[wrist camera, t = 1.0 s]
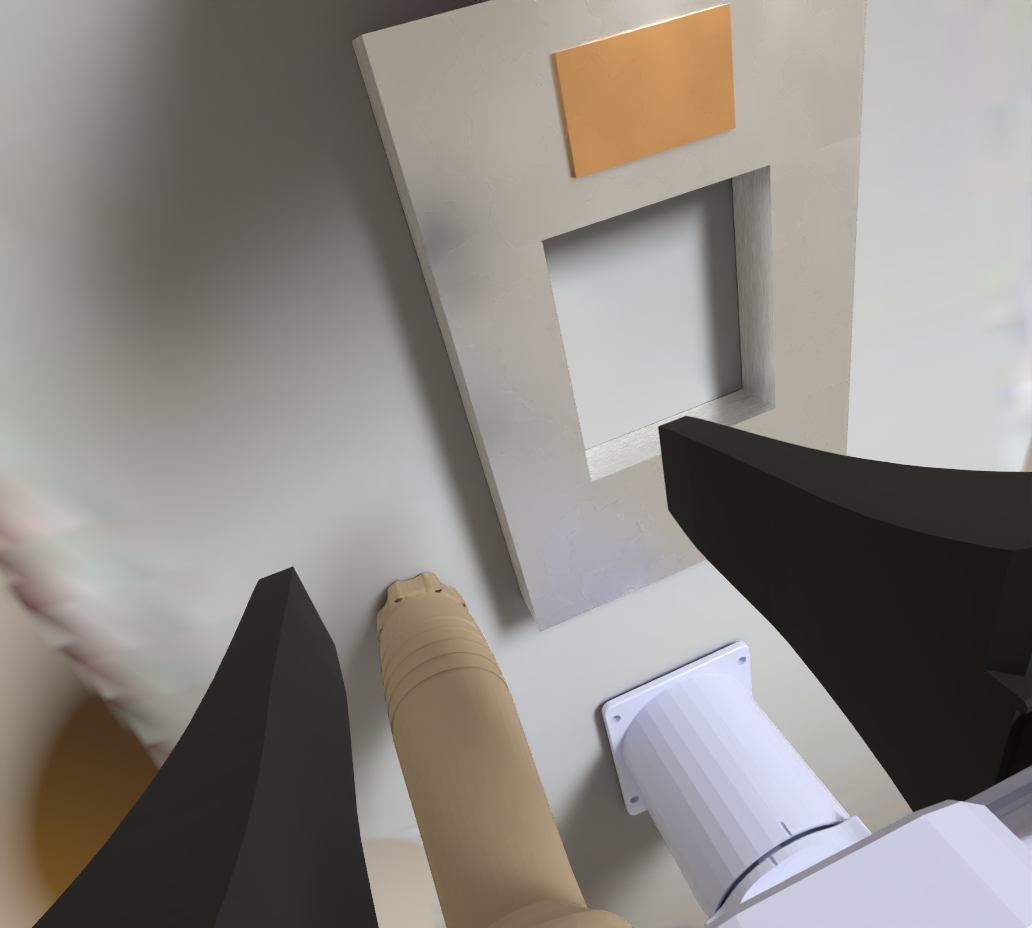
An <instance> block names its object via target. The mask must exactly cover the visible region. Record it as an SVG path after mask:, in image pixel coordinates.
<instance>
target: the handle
mask: <svg viewBox="0 0 1032 928" xmlns="http://www.w3.org/2000/svg"><path fill="white" fill-rule="evenodd" d="M387 592H388V598H387V601H386V604H385V606H384V607H383V608H382V609H381V610H380V611H379V612H378V614H377V634H378V640H379V642H380V659H381V671H382V679H383V685H384V693H385V700H386V706H387V711H388V716H389V721H390V726H391V731H392V735H393V741H394V745H395V748H396V752H397V755H398V759H399V762H400V766H401V769H402V772H403V776H404V779H405V783H406V786H407V790H408V793H409V797H410V800H411V803H412V807H413V810H414V814H415V817H416V821H417V824H418V828H419V831H420V834H421V838H422V841H423V845H424V849H425V852H426V856H427V859H428V863H429V866H430V870H431V874H432V877H433V881H434V884H435V888H436V891H437V895H438V899H439V902H440V906H441V909H442V913H443V916H444V920H445V924H446V927H447V928H633V927H632V926H631V925H630V924H629V923H628V922H627V921H626V920H625V919H623V918H622V917H620V916H618V915H616V914H613V913H611V912H608V911H605V910H600V909H593V908H588V907H587V905H586V903H585V900H584V898H583V896H582V893H581V891H580V888H579V886H578V884H577V881H576V879H575V876H574V874H573V872H572V869H571V866H570V863H569V860H568V857H567V855H566V852H565V849H564V846H563V843H562V840H561V838H560V835H559V832H558V829H557V826H556V823H555V821H554V818H553V815H552V812H551V809H550V806H549V804H548V801H547V798H546V795H545V792H544V789H543V787H542V784H541V781H540V778H539V775H538V772H537V769H536V766H535V763H534V760H533V757H532V754H531V752H530V749H529V746H528V743H527V740H526V737H525V734H524V731H523V728H522V725H521V722H520V719H519V716H518V714H517V711H516V708H515V705H514V702H513V699H512V696H511V693H510V692H509V689H508V686H507V684H506V682H505V680H504V678H503V676H502V673H501V671H500V668H499V666H498V664H497V662H496V660H495V658H494V656H493V654H492V652H491V650H490V648H489V646H488V644H487V642H486V640H485V638H484V637H483V634H482V633H481V631H480V629H479V628H478V626H477V624H476V623H475V621H474V619H473V618H472V616H471V615H470V614H469V612H468V608H467V606H466V604H465V602H464V600H463V599H462V597H461V596H460V594H459V593H458V592H457V590H456V589H455V588H452V587H447V586H445V585H443V584H442V583H441V582H440V581H439V580H438V578H437V576H436V575H435V574H434V573H421V574H420V575H419V576H417V577H415V578H412V579H409V580H405V581H399V580H398V581H396V582H395V583H393V584H392V585H391V586H390V587H389V588H388V590H387Z"/></svg>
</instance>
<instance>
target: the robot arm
mask: <svg viewBox="0 0 1032 928" xmlns="http://www.w3.org/2000/svg"><path fill="white" fill-rule="evenodd" d="M658 431H659V439H660V447H661V456H662V464H663V472H664V481H665V489H666V497H667V505H668V511H669V512H670V513H671V515H672V516H673V518H674V519H675V520H676V522H677V523H678V525H679V526H680V527H681V529H682V530H683V531H684V533H685V534H686V535H687V537H688V538H689V539H690V541H691V542H692V543H693V544H694V546H695V547H696V548H697V549H698V550H699V551H700V552H701V553H702V554H703V556H704V557H705V558H706V559H707V560H708V561H709V562H710V563H711V564H712V565H713V566H714V567H715V568H716V569H717V570H718V571H719V572H720V573H721V574H722V575H723V576H724V577H725V578H726V579H727V580H728V581H729V582H730V583H731V584H732V585H733V586H734V587H735V588H736V589H737V590H738V591H739V592H740V593H741V594H742V595H743V596H744V597H745V598H746V599H747V600H748V601H749V602H750V603H751V604H752V605H753V606H754V607H755V608H756V609H757V610H758V611H759V612H760V613H761V614H762V615H763V616H764V617H765V618H766V619H767V620H768V621H769V622H770V623H771V624H772V625H773V626H774V627H775V628H776V630H777V631H778V632H779V633H780V634H781V635H782V636H783V637H784V638H785V639H786V640H787V642H788V643H789V644H790V645H791V647H792V648H793V649H794V650H795V652H796V653H797V654H798V655H799V657H800V658H801V659H802V660H803V661H804V663H805V664H806V665H807V666H808V668H809V669H810V670H811V671H812V673H813V674H814V675H815V676H816V678H817V679H818V680H819V681H820V683H821V684H822V685H823V687H824V688H825V689H826V691H827V692H828V693H829V695H830V696H831V697H832V699H833V700H834V701H835V702H836V704H837V705H838V706H839V708H840V709H841V710H842V712H843V713H844V714H845V716H846V717H847V718H848V720H849V721H850V722H851V723H852V725H853V726H854V728H855V729H856V730H857V732H858V733H859V735H860V736H861V737H862V739H863V740H864V742H865V743H866V744H867V746H868V747H869V749H870V750H871V751H872V753H873V754H874V756H875V757H876V758H877V760H878V761H879V762H880V764H881V765H882V767H883V768H884V769H885V771H886V772H887V774H888V775H889V776H890V778H891V779H892V781H893V782H894V784H895V785H896V787H897V788H898V790H899V791H900V793H901V794H902V796H903V797H904V799H905V800H906V802H907V803H908V805H909V806H910V808H911V809H912V811H913V813H911V814H909V815H908V816H906V817H904V818H902V819H900V820H898V821H896V822H894V823H892V824H890V825H889V826H887V827H885V828H883V829H881V830H879V831H877V832H875V833H873V834H872V833H871V832H870V831H869V830H868V828H867V827H866V826H865V825H864V824H863V822H862V821H861V820H860V819H859V818H858V817H857V816H856V815H853V816H852V817H850V816H849V815H848V813H847V812H846V811H845V810H844V808H843V807H842V806H841V805H840V804H839V802H838V801H837V800H836V799H835V798H834V796H833V795H832V794H831V793H830V791H829V790H828V789H827V788H826V787H825V785H824V784H823V783H822V782H821V781H820V779H819V778H818V777H817V776H816V775H815V773H814V772H813V771H812V770H811V768H810V767H809V766H808V765H807V764H806V762H805V761H804V760H803V759H802V758H801V756H800V755H799V754H798V753H797V751H796V750H795V749H794V748H793V747H792V745H791V744H790V743H789V742H788V741H787V739H786V738H785V737H784V736H783V735H782V733H781V732H780V731H779V730H778V728H777V727H776V726H775V725H774V724H773V722H772V721H771V720H770V719H769V718H768V716H767V715H766V714H765V713H764V712H763V710H762V709H761V708H760V707H759V705H758V704H757V703H756V702H755V701H754V699H753V698H752V686H751V669H750V652H749V647H748V646H747V645H746V644H745V643H744V642H736V643H734V644H732V645H730V646H727V647H725V648H723V649H721V650H719V651H716V652H714V653H712V654H710V655H708V656H706V657H703V658H701V659H699V660H697V661H695V662H693V663H690V664H688V665H686V666H684V667H682V668H680V669H677V670H675V671H673V672H671V673H669V674H666V675H664V676H662V677H660V678H658V679H656V680H653V681H651V682H649V683H647V684H645V685H643V686H640V687H638V688H636V689H634V690H632V691H629V692H627V693H625V694H623V695H621V696H619V697H616V698H614V699H612V700H610V701H608V702H607V703H605V704H604V706H603V708H602V715H603V719H604V723H605V727H606V731H607V735H608V739H609V743H610V747H611V751H612V755H613V759H614V762H615V766H616V770H617V774H618V778H619V782H620V786H621V790H622V794H623V798H624V802H625V806H626V809H627V811H628V813H629V814H630V815H637V814H640V813H642V812H644V811H646V810H648V812H649V814H650V815H651V817H652V819H653V821H654V823H655V825H656V826H657V828H658V830H659V832H660V834H661V836H662V837H663V839H664V841H665V843H666V845H667V846H668V848H669V850H670V852H671V854H672V856H673V857H674V859H675V861H676V863H677V865H678V867H679V868H680V870H681V872H682V874H683V876H684V878H685V879H686V881H687V883H688V885H689V887H690V888H691V890H692V892H693V894H694V896H695V898H696V899H697V901H698V903H699V905H700V906H701V908H702V909H703V911H704V912H705V914H706V915H707V916H708V917H709V919H708V920H707V921H706V922H705V927H703V928H1032V472H996V471H972V470H957V469H944V468H931V467H921V466H911V465H902V464H895V463H889V462H882V461H875V460H868V459H861V458H856V457H850V456H845V455H840V454H835V453H831V452H826V451H821V450H817V449H812V448H808V447H804V446H800V445H795V444H791V443H787V442H784V441H780V440H776V439H772V438H769V437H765V436H761V435H758V434H754V433H750V432H747V431H743V430H740V429H736V428H733V427H729V426H726V425H722V424H718V423H715V422H711V421H707V420H703V419H699V418H695V417H690V416H684V417H681V418H679V419H676V420H673V421H671V422H668V423H666V424H663V425H660V426H658ZM32 928H379V927H378V922H377V917H376V913H375V908H374V903H373V898H372V894H371V889H370V883H369V879H368V874H367V868H366V863H365V858H364V853H363V848H362V843H361V837H360V830H359V823H358V815H357V806H356V795H355V783H354V772H353V761H352V749H351V738H350V727H349V717H348V706H347V697H346V691H345V687H344V682H343V677H342V673H341V669H340V664H339V660H338V656H337V652H336V647H335V645H334V643H333V641H332V639H331V637H330V635H329V633H328V631H327V629H326V628H325V626H324V624H323V622H322V620H321V618H320V616H319V614H318V613H317V611H316V609H315V607H314V605H313V603H312V601H311V599H310V597H309V596H308V594H307V592H306V590H305V588H304V586H303V584H302V582H301V580H300V579H299V577H298V575H297V573H296V571H295V569H294V567H290V568H288V569H285V570H283V571H280V572H277V573H275V574H272V575H270V576H267V577H264V578H262V579H259V581H258V583H257V585H256V587H255V589H254V591H253V593H252V595H251V598H250V600H249V602H248V605H247V607H246V609H245V611H244V614H243V616H242V618H241V621H240V623H239V625H238V628H237V630H236V632H235V634H234V637H233V639H232V641H231V643H230V645H229V647H228V649H227V652H226V654H225V656H224V658H223V660H222V662H221V664H220V666H219V668H218V671H217V673H216V675H215V677H214V679H213V681H212V683H211V685H210V686H209V688H208V690H207V692H206V694H205V696H204V698H203V699H202V701H201V703H200V705H199V707H198V709H197V711H196V712H195V714H194V716H193V718H192V720H191V722H190V723H189V725H188V727H187V728H186V730H185V732H184V733H183V735H182V737H181V738H180V740H179V741H178V743H177V745H176V746H175V748H174V749H173V751H172V752H171V754H170V755H169V757H168V758H167V760H166V761H165V763H164V764H163V766H162V767H161V769H160V770H159V772H158V774H157V775H156V776H155V778H154V779H153V781H152V782H151V784H150V785H149V786H148V788H147V789H146V790H145V792H144V793H143V794H142V796H141V797H140V798H139V800H138V801H137V802H136V804H135V805H134V806H133V808H132V809H131V810H130V812H129V813H128V814H127V816H126V817H125V818H124V819H123V821H122V822H121V824H120V825H119V826H118V827H117V829H116V830H115V831H114V833H113V834H112V835H111V837H110V838H109V839H108V841H107V842H106V843H105V844H104V846H103V847H102V848H101V849H100V851H99V852H98V853H97V854H96V855H95V857H94V858H93V859H92V860H91V861H90V862H89V864H88V865H87V866H86V867H85V868H84V870H83V871H82V872H81V873H80V874H79V876H78V877H77V878H76V879H75V880H74V881H73V882H72V884H71V885H70V886H69V887H68V888H67V889H66V890H65V892H64V893H63V894H62V895H61V896H60V897H59V898H58V899H57V901H56V902H55V903H54V904H53V905H52V906H51V907H50V909H49V910H48V911H47V912H46V913H45V914H44V915H43V916H42V917H41V918H40V919H39V921H38V922H37V923H36V924H35V925H34V926H33V927H32Z"/></svg>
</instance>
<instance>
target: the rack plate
mask: <svg viewBox="0 0 1032 928" xmlns="http://www.w3.org/2000/svg"><path fill="white" fill-rule="evenodd" d="M866 6H867V0H490V1H486V2H483V3H479V4H475V5H471V6H468V7H464V8H460V9H456V10H452V11H449V12H445V13H441V14H437V15H434V16H430V17H426V18H422V19H419V20H415V21H411V22H407V23H404V24H400V25H396V26H392V27H388V28H385V29H381V30H377V31H373V32H370V33H366V34H362V35H360V36H359V37H357V38H355V39H354V40H352V44H353V47H354V51H355V54H356V57H357V60H358V64H359V67H360V70H361V73H362V77H363V80H364V83H365V86H366V90H367V93H368V96H369V99H370V103H371V106H372V109H373V112H374V116H375V119H376V122H377V125H378V129H379V132H380V135H381V138H382V142H383V145H384V148H385V151H386V155H387V158H388V161H389V164H390V168H391V171H392V174H393V177H394V181H395V184H396V187H397V190H398V194H399V197H400V200H401V203H402V207H403V210H404V213H405V216H406V220H407V223H408V226H409V229H410V233H411V236H412V239H413V242H414V246H415V249H416V252H417V255H418V259H419V262H420V265H421V268H422V272H423V275H424V278H425V281H426V285H427V288H428V291H429V294H430V298H431V301H432V304H433V307H434V311H435V314H436V317H437V320H438V324H439V327H440V330H441V333H442V337H443V340H444V343H445V346H446V350H447V353H448V356H449V359H450V363H451V366H452V369H453V372H454V376H455V379H456V382H457V385H458V389H459V392H460V395H461V398H462V402H463V405H464V408H465V411H466V415H467V418H468V421H469V424H470V428H471V431H472V434H473V437H474V441H475V444H476V447H477V450H478V454H479V457H480V460H481V463H482V467H483V470H484V473H485V476H486V480H487V483H488V486H489V490H490V493H491V496H492V499H493V503H494V506H495V509H496V512H497V516H498V519H499V522H500V525H501V529H502V532H503V535H504V538H505V542H506V545H507V548H508V551H509V555H510V558H511V561H512V564H513V568H514V571H515V574H516V577H517V581H518V584H519V587H520V590H521V594H522V597H523V600H524V602H525V603H526V605H527V607H528V609H529V611H530V613H531V615H532V617H533V619H534V620H535V622H536V624H537V626H538V628H539V630H540V631H542V630H544V629H547V628H549V627H551V626H554V625H556V624H558V623H560V622H563V621H565V620H567V619H570V618H572V617H574V616H577V615H579V614H581V613H584V612H586V611H588V610H590V609H593V608H595V607H597V606H600V605H602V604H604V603H607V602H609V601H611V600H614V599H616V598H618V597H620V596H623V595H625V594H627V593H630V592H632V591H634V590H637V589H639V588H641V587H644V586H646V585H648V584H650V583H653V582H655V581H657V580H660V579H662V578H664V577H667V576H669V575H671V574H674V573H676V572H678V571H680V570H683V569H685V568H687V567H690V566H692V565H694V564H697V563H699V562H701V561H703V560H706V558H705V557H704V556H703V554H702V553H701V552H700V551H699V550H698V549H697V548H696V547H695V546H694V544H693V543H692V542H691V541H690V539H689V538H688V537H687V535H686V534H685V533H684V531H683V530H682V529H681V527H680V526H679V525H678V523H677V522H676V520H675V519H674V518H673V516H672V515H671V513H670V512H669V511H668V505H667V497H666V489H665V481H664V472H663V464H662V456H661V447H660V439H659V431H658V426H660V425H663V424H666V423H668V422H671V421H673V420H676V419H679V418H681V417H684V416H690V417H695V418H699V419H703V420H707V421H711V422H715V423H718V424H722V425H726V426H729V427H733V428H736V429H740V430H743V431H747V432H750V433H754V434H758V435H761V436H765V437H769V438H772V439H776V440H780V441H784V442H787V443H791V444H795V445H800V446H804V447H808V448H812V449H817V450H821V451H826V452H831V453H835V454H840V455H845V456H846V453H847V431H848V408H849V386H850V364H851V341H852V319H853V297H854V274H855V252H856V229H857V207H858V185H859V162H860V140H861V118H862V95H863V73H864V51H865V28H866ZM729 178H732V187H733V207H734V226H735V246H736V265H737V285H738V304H739V324H740V343H741V363H742V382H743V389H741V390H738V391H736V392H733V393H731V394H728V395H726V396H723V397H720V398H718V399H715V400H713V401H710V402H708V403H705V404H703V405H700V406H697V407H695V408H692V409H690V410H687V411H685V412H682V413H679V414H677V415H674V416H672V417H669V418H667V419H664V420H662V421H659V422H656V423H654V424H651V425H649V426H646V427H644V428H641V429H639V430H636V431H633V432H631V433H628V434H626V435H623V436H621V437H618V438H616V439H613V440H610V441H608V442H605V443H603V444H600V445H598V446H595V447H593V448H590V449H587V450H585V448H584V443H583V438H582V433H581V428H580V423H579V418H578V413H577V409H576V404H575V399H574V394H573V389H572V384H571V379H570V374H569V370H568V365H567V360H566V355H565V350H564V345H563V340H562V335H561V331H560V326H559V321H558V316H557V311H556V306H555V301H554V296H553V291H552V287H551V282H550V277H549V272H548V267H547V262H546V257H545V252H544V248H543V243H542V240H545V239H548V238H551V237H554V236H557V235H560V234H563V233H566V232H569V231H572V230H575V229H578V228H581V227H584V226H587V225H590V224H593V223H596V222H599V221H602V220H605V219H608V218H611V217H614V216H617V215H620V214H623V213H626V212H630V211H633V210H636V209H639V208H642V207H645V206H648V205H651V204H654V203H657V202H660V201H663V200H666V199H669V198H672V197H675V196H678V195H681V194H684V193H687V192H690V191H693V190H696V189H699V188H702V187H705V186H708V185H711V184H714V183H717V182H720V181H723V180H726V179H729Z"/></svg>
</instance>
